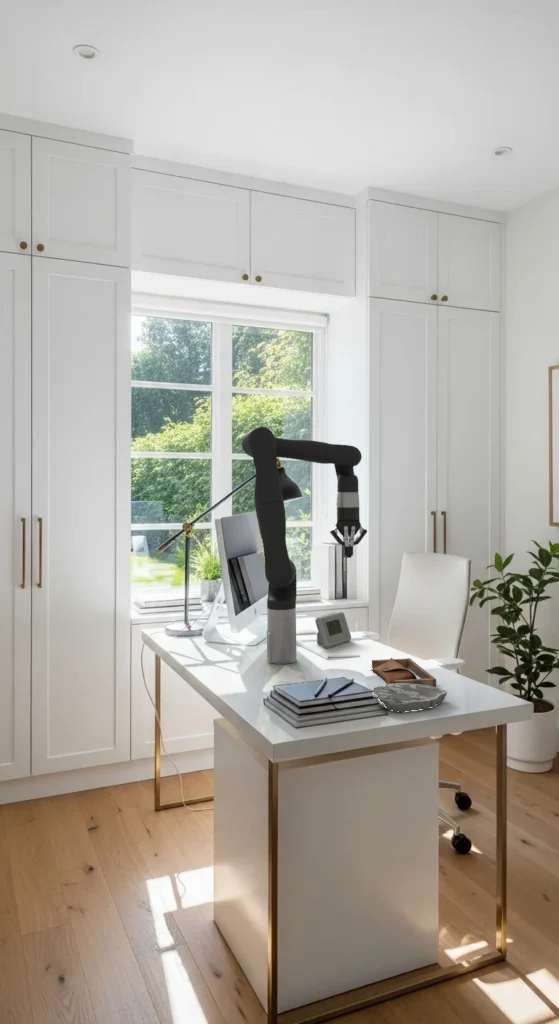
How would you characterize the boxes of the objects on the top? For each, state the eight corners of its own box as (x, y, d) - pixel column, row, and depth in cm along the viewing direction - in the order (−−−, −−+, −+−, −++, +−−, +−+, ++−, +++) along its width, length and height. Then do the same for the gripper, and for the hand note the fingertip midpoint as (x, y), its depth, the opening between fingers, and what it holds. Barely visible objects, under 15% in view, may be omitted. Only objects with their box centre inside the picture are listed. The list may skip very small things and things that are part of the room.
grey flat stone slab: (407, 689, 196) (407, 678, 196) (456, 704, 182) (456, 692, 182) (355, 703, 184) (355, 692, 184) (404, 720, 171) (404, 708, 171)
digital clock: (325, 649, 243) (324, 619, 243) (307, 645, 250) (307, 615, 250) (358, 642, 254) (357, 613, 253) (340, 638, 261) (340, 610, 260)
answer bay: (393, 690, 194) (393, 681, 194) (371, 668, 218) (371, 660, 218) (436, 688, 196) (436, 679, 196) (409, 666, 219) (409, 658, 219)
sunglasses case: (367, 669, 216) (378, 650, 216) (386, 680, 217) (397, 660, 218) (389, 686, 198) (400, 665, 199) (409, 697, 200) (420, 676, 200)
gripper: (330, 506, 233) (331, 559, 234) (370, 505, 235) (370, 558, 235) (326, 506, 241) (327, 556, 241) (364, 505, 242) (365, 555, 243)
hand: (348, 557), depth 238 cm, fingers closed
